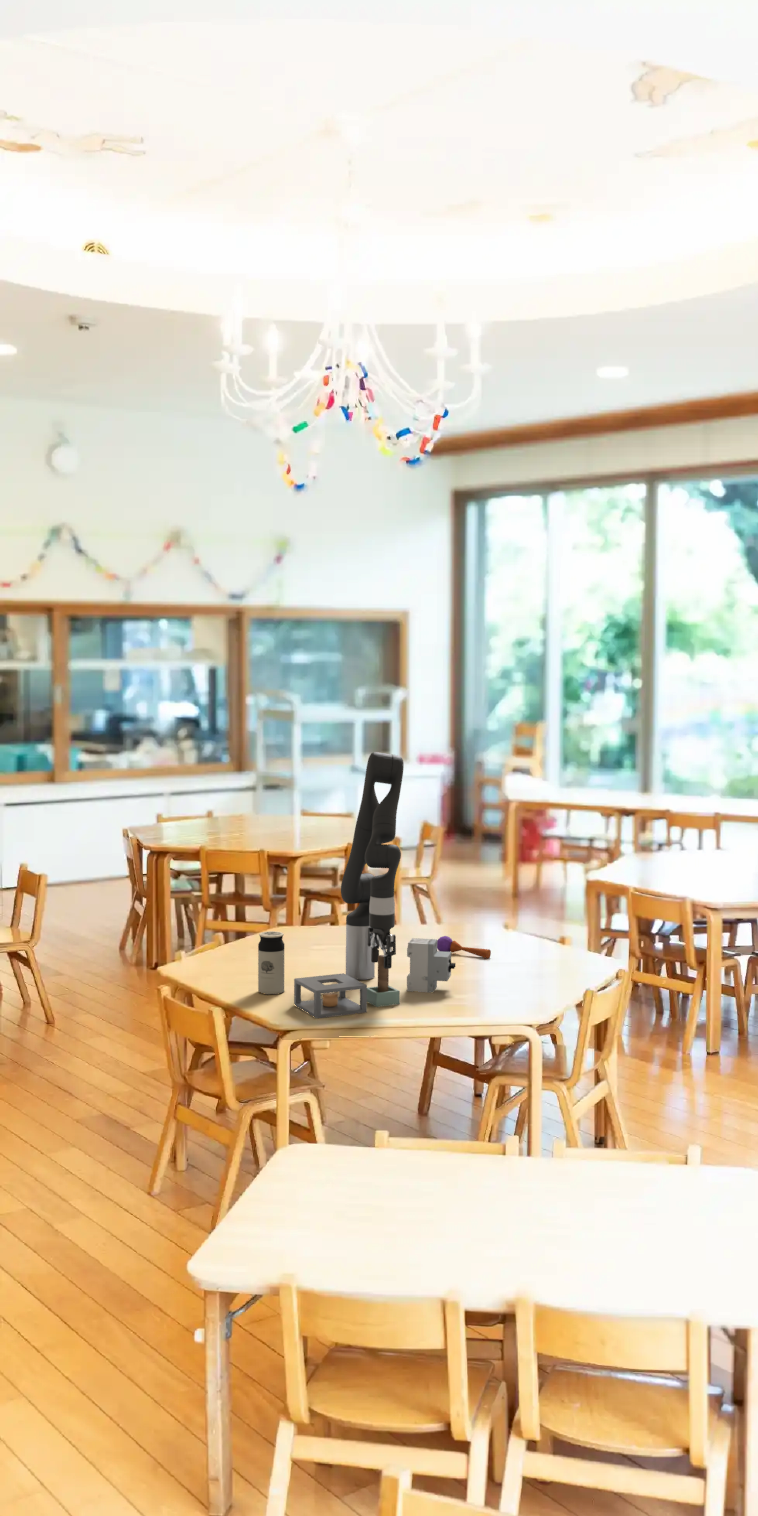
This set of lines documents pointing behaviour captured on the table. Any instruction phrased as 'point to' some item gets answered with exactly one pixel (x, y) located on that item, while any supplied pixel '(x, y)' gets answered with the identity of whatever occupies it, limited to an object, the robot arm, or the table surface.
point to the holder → (383, 996)
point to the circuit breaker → (427, 965)
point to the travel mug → (271, 963)
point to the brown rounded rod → (382, 975)
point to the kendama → (460, 947)
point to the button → (330, 999)
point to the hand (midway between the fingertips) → (381, 965)
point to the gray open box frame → (318, 988)
